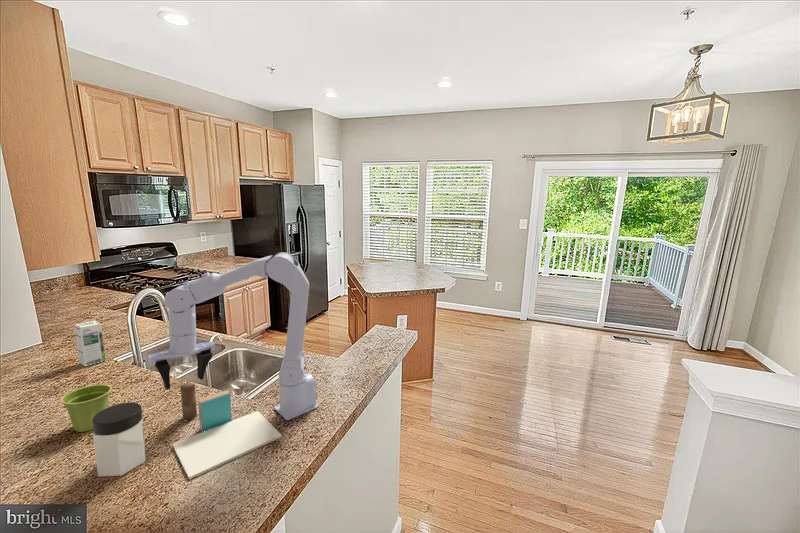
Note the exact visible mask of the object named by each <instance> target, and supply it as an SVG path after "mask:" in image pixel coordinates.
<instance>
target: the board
mask: <svg viewBox="0 0 800 533" xmlns="http://www.w3.org/2000/svg"><path fill="white" fill-rule="evenodd" d="M280 438H282V434H281V433H280V432H279V430H278V429H276V428H275V427H274V426H273V425H272V423H270V422H269V421H268V420H267V419H266V418H265V416H263V415H262V413H261V412H259V410H257V411H254V412H251V413H249V414H246V415H244V416H241V417H239V418H236V419H233V420H232V421H230V422H228V423H225V424H223V425H220V426H217V427H215V428H212V429H210V430H207V431H205V432H202V431H201V432H199V433H197V434H195V435H191V436H190V437H187V438H184V439H181V440H179V441H177V442H174V443H172V448H173V450H174V452H175V454H176V456H177V458H178V460H179V462H180V464H181V466H182V468H183V470H184V473H185V475H186V474H187V475H186V476H188V477H187V479H188V478H189V479H190V480H192V478H193V479H194V477H195V478H197V477H199V476H201V475H203V474H205V473H208V472H210V471H212V470H214V469H216V468H218V467H220V466H222V464H223V465H225V464H227V463H230V462H231V461H233V460H236V459H238V458H240V457H242V456H244V455H246V454H248V453H251V452H253V451H254V450H257V449H260V448H261V447H263V446H265V445H267V444H269V443H272V442H274V441H277V440H279V439H280ZM224 463H225V464H224ZM207 471H208V472H207ZM196 476H197V477H196ZM189 479H188V480H189Z"/></svg>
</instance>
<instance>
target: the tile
mask: <svg viewBox="0 0 800 533" xmlns="http://www.w3.org/2000/svg"><path fill="white" fill-rule="evenodd" d="M197 402H198V403H197V404H198V415H199V416H198V417H199V430H200V429H201V430H200V431H201V432H202V431H203V432H204V431H207V430H209V429H212V428H215V427H217V426H220V425H223V424H225V423H228V422H230V421H233V420H232V402H231V392H230V391H229V390H225V391H222V392H219V393H215V394H213V395H209V396H205V397H202V398H200V399H198V400H197Z"/></svg>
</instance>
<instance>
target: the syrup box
mask: <svg viewBox="0 0 800 533" xmlns="http://www.w3.org/2000/svg"><path fill="white" fill-rule="evenodd" d="M102 327H103V326H102V323H101V322H100V321H97V320H92V321H87V322H82V323H77V324H74V333H75V339H76V346H77V354H78V361H79V362H80V363H81V364H82V365H81V364H80V363H79V364H80V365H81V366H83V365H84V366H88V365H91V366H93V365H92V364H94V365H96V364H95V363H98V364H100V363H99V362H102V363H104V362H103V361H105V362H106V361H107V360H106V352H105V345H104V336H103V328H102ZM84 366H83V367H84ZM88 367H89V366H88Z"/></svg>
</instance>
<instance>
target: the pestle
mask: <svg viewBox="0 0 800 533" xmlns="http://www.w3.org/2000/svg"><path fill="white" fill-rule="evenodd" d="M196 397H197V396H196V385H195V383H193V382H188V383H185V384H182V385H181V386H180V400H181V410H182V411H181V412H182V413H181V414H182V420H183V421H184V420H190V421H192V419H193V420H195V419H196V418H197V417H198V413H197V409H198V408H197V398H196ZM196 416H197V417H196ZM195 417H196V418H195ZM194 418H195V419H194Z"/></svg>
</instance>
